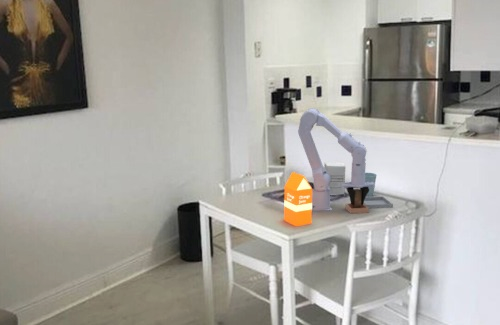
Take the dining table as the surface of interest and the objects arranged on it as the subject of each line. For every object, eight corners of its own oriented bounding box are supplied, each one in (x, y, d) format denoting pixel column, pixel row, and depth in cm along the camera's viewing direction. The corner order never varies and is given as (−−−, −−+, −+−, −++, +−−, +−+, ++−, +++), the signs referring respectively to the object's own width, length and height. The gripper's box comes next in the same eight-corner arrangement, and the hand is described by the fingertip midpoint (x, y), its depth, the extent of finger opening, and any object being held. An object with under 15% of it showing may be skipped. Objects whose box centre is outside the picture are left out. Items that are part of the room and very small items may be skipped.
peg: (353, 211, 223) (354, 191, 221) (351, 209, 226) (352, 189, 224) (362, 211, 223) (363, 191, 221) (359, 208, 227) (360, 188, 225)
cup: (378, 196, 248) (379, 175, 245) (365, 198, 245) (366, 176, 242) (369, 192, 254) (369, 171, 252) (356, 194, 251) (356, 173, 249)
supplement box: (323, 191, 257) (324, 161, 254) (341, 191, 257) (342, 161, 254) (325, 196, 248) (326, 165, 245) (344, 196, 248) (345, 165, 245)
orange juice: (299, 217, 218) (300, 170, 213) (311, 223, 210) (312, 175, 206) (283, 220, 214) (284, 172, 210) (295, 226, 206) (296, 177, 202)
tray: (366, 209, 227) (366, 204, 227) (357, 201, 239) (357, 197, 239) (392, 208, 229) (393, 203, 228) (382, 201, 240) (383, 196, 240)
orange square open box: (350, 214, 221) (350, 208, 220) (345, 209, 228) (345, 203, 228) (368, 214, 221) (368, 208, 221) (362, 208, 229) (362, 202, 228)
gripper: (344, 176, 217) (343, 207, 219) (378, 175, 218) (376, 206, 221) (339, 172, 223) (338, 202, 226) (372, 171, 225) (370, 201, 228)
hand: (356, 204), depth 224 cm, fingers closed on peg, 4 cm apart
